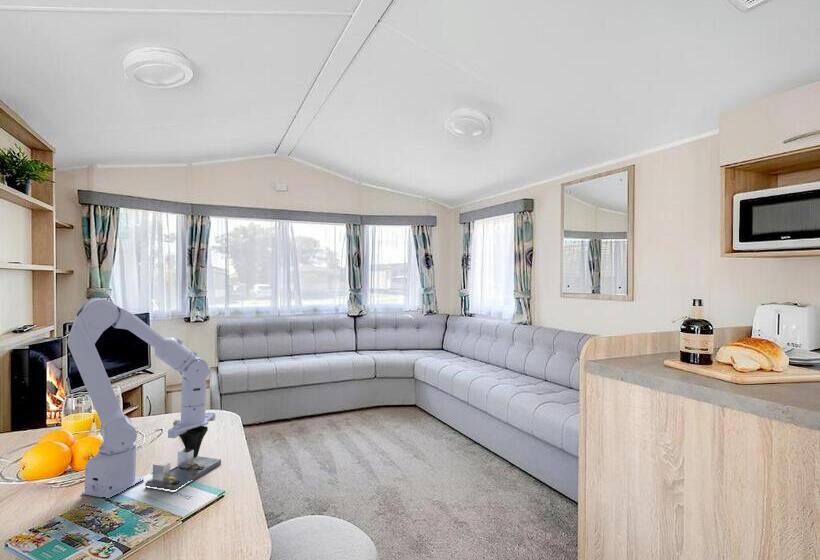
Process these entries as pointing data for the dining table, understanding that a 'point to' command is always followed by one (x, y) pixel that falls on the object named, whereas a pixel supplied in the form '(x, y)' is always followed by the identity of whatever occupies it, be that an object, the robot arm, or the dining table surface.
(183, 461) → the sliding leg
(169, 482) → the gauge plate
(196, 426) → the robot arm
